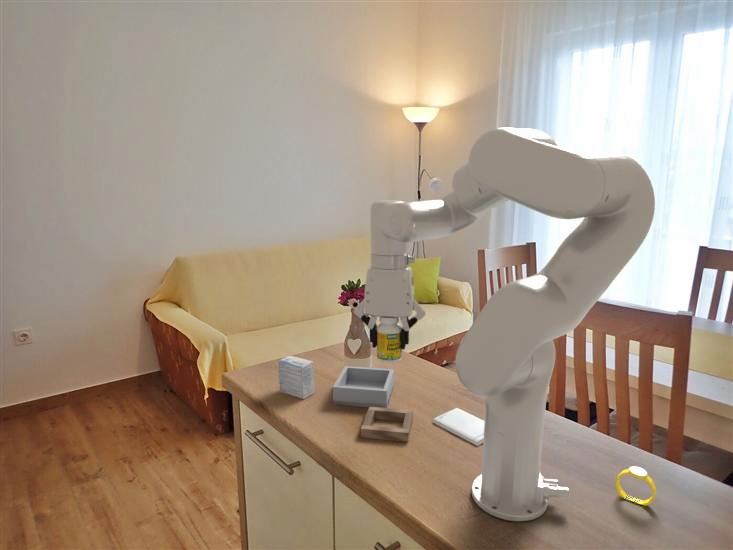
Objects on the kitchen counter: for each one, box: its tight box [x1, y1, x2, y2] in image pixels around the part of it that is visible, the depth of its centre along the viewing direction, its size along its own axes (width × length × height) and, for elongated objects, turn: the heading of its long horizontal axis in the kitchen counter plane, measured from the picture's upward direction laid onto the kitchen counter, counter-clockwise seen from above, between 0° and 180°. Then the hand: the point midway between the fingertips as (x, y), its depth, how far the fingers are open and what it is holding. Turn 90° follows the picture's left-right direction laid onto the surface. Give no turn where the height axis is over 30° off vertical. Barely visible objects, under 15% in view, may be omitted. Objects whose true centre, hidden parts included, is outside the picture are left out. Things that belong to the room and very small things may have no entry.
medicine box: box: [278, 355, 315, 400], centre depth 128 cm, size 8×4×9 cm, turn 58°
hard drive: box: [432, 407, 485, 447], centre depth 112 cm, size 2×8×12 cm
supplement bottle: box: [376, 317, 403, 364], centre depth 107 cm, size 5×5×10 cm
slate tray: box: [332, 365, 395, 408], centre depth 127 cm, size 13×13×4 cm
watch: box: [615, 465, 657, 507], centre depth 87 cm, size 6×3×6 cm, turn 51°
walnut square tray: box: [360, 407, 414, 442], centre depth 112 cm, size 10×10×2 cm
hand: (389, 345), depth 108 cm, fingers closed on supplement bottle, 5 cm apart
